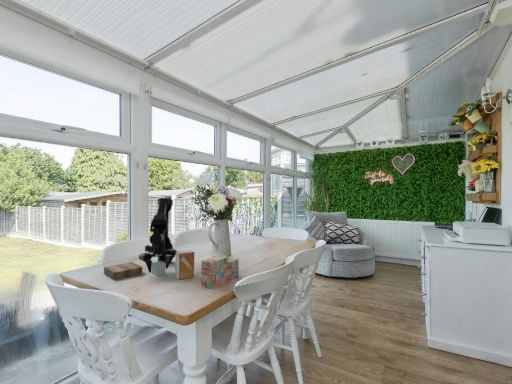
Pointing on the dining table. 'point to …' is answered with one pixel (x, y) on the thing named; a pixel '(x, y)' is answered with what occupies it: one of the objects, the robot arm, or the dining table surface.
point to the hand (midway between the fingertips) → (158, 270)
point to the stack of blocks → (218, 271)
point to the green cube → (158, 268)
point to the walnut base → (122, 270)
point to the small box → (184, 264)
